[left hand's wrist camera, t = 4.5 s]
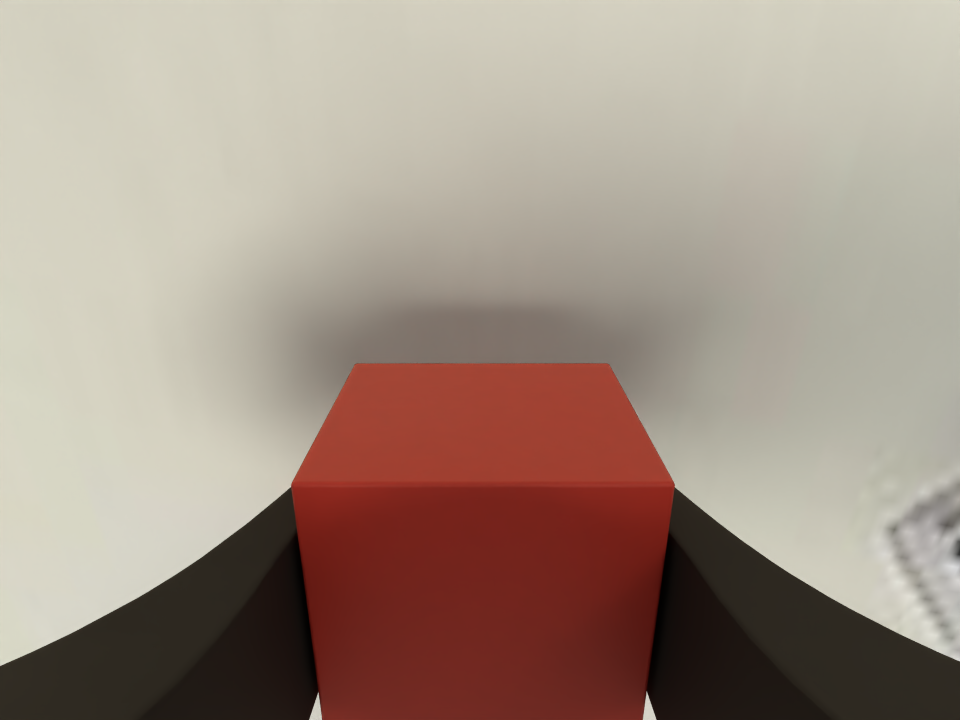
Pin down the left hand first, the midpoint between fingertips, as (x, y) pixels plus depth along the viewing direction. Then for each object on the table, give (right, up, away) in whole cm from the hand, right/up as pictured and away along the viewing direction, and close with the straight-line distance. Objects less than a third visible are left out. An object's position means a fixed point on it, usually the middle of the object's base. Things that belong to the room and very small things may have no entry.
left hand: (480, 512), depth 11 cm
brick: (0, +1, +1) cm, 1 cm away
